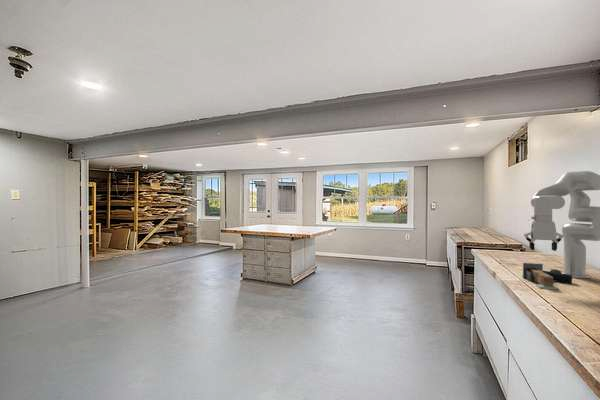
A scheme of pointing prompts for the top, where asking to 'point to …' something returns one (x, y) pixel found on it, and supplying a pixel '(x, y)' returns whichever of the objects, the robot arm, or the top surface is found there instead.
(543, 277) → the walnut rail
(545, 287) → the pad
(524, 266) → the grey metal bracket
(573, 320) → the top surface
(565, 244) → the robot arm
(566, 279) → the pipe connector
